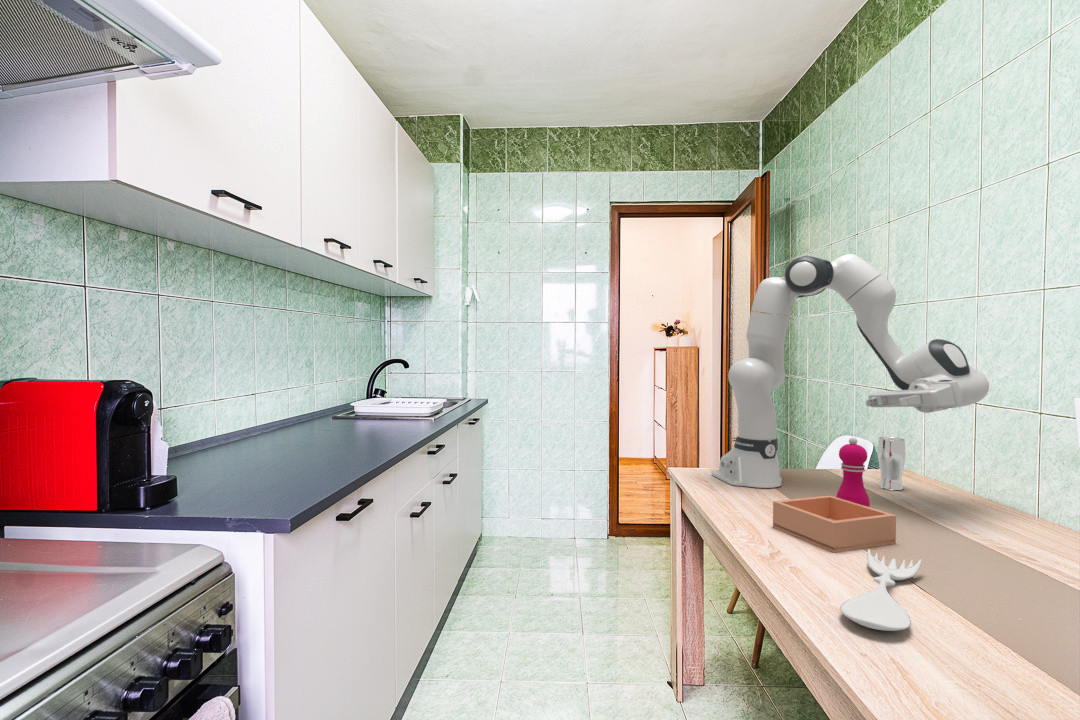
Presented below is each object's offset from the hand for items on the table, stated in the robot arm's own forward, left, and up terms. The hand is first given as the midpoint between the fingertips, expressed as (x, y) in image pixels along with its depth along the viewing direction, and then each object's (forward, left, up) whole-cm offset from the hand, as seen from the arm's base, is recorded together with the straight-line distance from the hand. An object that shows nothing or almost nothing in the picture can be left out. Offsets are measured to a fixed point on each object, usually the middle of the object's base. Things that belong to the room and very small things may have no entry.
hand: (882, 402), depth 136 cm
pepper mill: (+1, -10, -28) cm, 30 cm away
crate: (+8, -24, -28) cm, 38 cm away
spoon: (+35, -42, -29) cm, 62 cm away
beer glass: (-19, +28, -28) cm, 44 cm away
